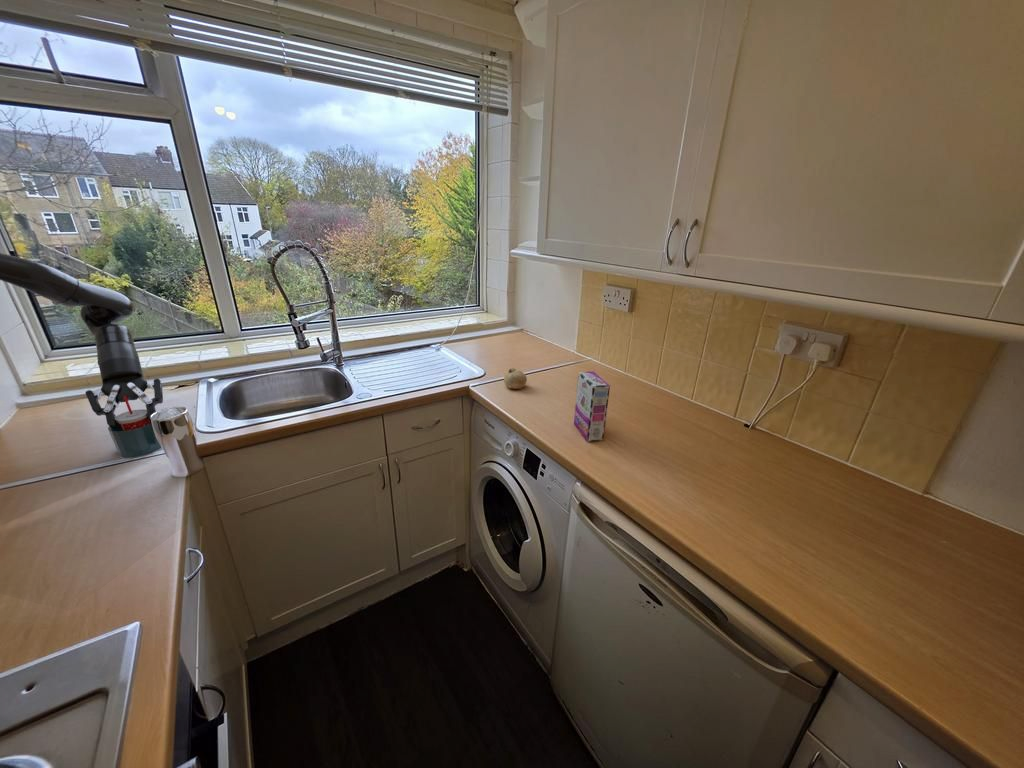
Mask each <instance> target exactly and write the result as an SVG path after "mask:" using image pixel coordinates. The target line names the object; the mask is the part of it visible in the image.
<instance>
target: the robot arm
mask: <svg viewBox="0 0 1024 768" xmlns="http://www.w3.org/2000/svg"><path fill="white" fill-rule="evenodd" d="M0 281H1V282H6V283H7V284H11V285H14V286H16V287H19V288H21V289H23V290H26V291H29V292H31V293H33V294H36V295H38V296H40V297H42V298H44V299H47V300H49V301H52V302H54V303H56V304H59V305H61V306H63V307H67V308H75V307H80V311H79V314H80V318H81V320H82V321H83V322H84V324H85V325H86V327H87V328H88V330H89V331H90V333H91V335H92V336H93V337H94V342H95V348H96V358H97V365H98V367H99V372H100V377H101V382H102V385H101V387H100V389H96V390H91V389H87V390H86V391H85V396H86V399H87V400H88V402H89V405H90V408H91V410H92V412H93V413H94V414H95V415H96V416H98V417H99V416H105V420H106V424H107V425H108V427H109V426H110V427H112V428H113V429H118V424H117V422H116V420H115V417H116V416H117V415H116V414H115V412H116V410H117V408H118V407H119V406H120V404H121V403H126V402H125V399H124V397H123V396H126V397H127V400H128V402H130V401H137V400H138V399H139V401H141V402H142V403H144V405H145V408H146V409H145V410H147V413H148V417H149V419H150V416H151V415H152V414H153V413H155V412H157V410H156V406H157V405H159V404H160V405H161V404H163V403H164V393H163V383H162V381H161V380H160V379H159V378H154V379H153V380H146V379H145V377H144V373H143V368H142V364H141V361H140V356H139V354H138V351H137V349H136V345H135V341H134V336H133V333H132V331H131V330H130V328H129V327H127V326H125V325H123V324H117V323H119V322H121V321H123V320H125V319H127V318H129V317H131V316H132V315H133V314H134V312H135V305H134V304H133V301H131V299H130V298H128V297H127V296H126V295H124V294H123V293H121V292H119V291H116V290H113V289H111V288H107V287H103V286H101V285H96V284H94V283H90V282H89V283H88V282H84V281H82V280H79V279H77V278H76V277H73V276H72V275H69V274H68V273H65V272H63V271H62V270H59V269H57V268H55V267H53V266H51V265H48V264H45V263H42V262H39V261H35V260H31V259H27V258H23V257H18V256H14V255H10V254H6V253H2V252H0ZM148 387H150V389H152V390H153V393H154V395H153V396H154V397H152V398H150V396H149V397H148V395H146V393H145V392H146V390H147V389H148ZM102 395H104V396H106V397H108V398H107V400H106V404H105V406H104V407H102V406H101V403H100V401H99V400H100V399H101V398H102ZM150 421H151V420H150Z"/></svg>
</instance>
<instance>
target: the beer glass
mask: <svg viewBox="0 0 1024 768" xmlns="http://www.w3.org/2000/svg"><path fill="white" fill-rule="evenodd" d="M150 420H151V424H152V428H153V431H154V434H155V437H156V439H157V441H158V443H159V445H160V446H161V449H162V451H163V453H164V455H166V457H167V458H168V460H169V463H170V468H171V476H173V477H175V478H187V477H190V476H193V475H195V474H197V473H199V472H201V471H202V470H203V469H204V468H205V463H204V461H203V460H202V458H201V457H200V454H199V451H198V443H197V433H196V428H195V425H194V421H193V420H192V417H191V414H190V413H189V411H188V408H187V407H184V406H173V407H167V408H163V409H161V410H156V412H155V413H153V414H152V415H151V416H150Z"/></svg>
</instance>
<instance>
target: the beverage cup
mask: <svg viewBox="0 0 1024 768" xmlns="http://www.w3.org/2000/svg"><path fill="white" fill-rule="evenodd" d="M123 397H124V399H125V402H124V403H125V405H126V407H127V410H128V411H125V412H122V413H120V414H118V415H116V417H115V420H116V422H117V423H119V425H120V427H121V429H122V431H126V430H132V429H136V428H140V427H143V426H146V425H148V424H150V421H149V418H148V413H147V409H144V408H143V409H141V408H140V409H139V408H138V409H132V408H131V405H130V403H129V401H128V400H127V397H126V396H123Z"/></svg>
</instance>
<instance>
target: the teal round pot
mask: <svg viewBox="0 0 1024 768" xmlns="http://www.w3.org/2000/svg"><path fill="white" fill-rule="evenodd" d="M148 418H149V417H148ZM149 421H150V419H149ZM117 424H118V429H113V428H112V427H110V426H109V425H108V427H107V430H108V432H109V434H110V437H111V439H112V442H113V444H114V447H115V449H116V451H117V453H118V456H120V457H123V458H134V457H140V456H141V457H142V456H146V455H148V454H151V453H154V452H156V451H159V450H161V449H162V448H161V446H160V445H159V443H158V441H157V439H156V437H155V434H154V431H153V428H152V424H151V421H150V424H148V425H146V426H143V427H140V428H136V429H132V430H126V431H122V429H121V427H120V425H119V423H117Z"/></svg>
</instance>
